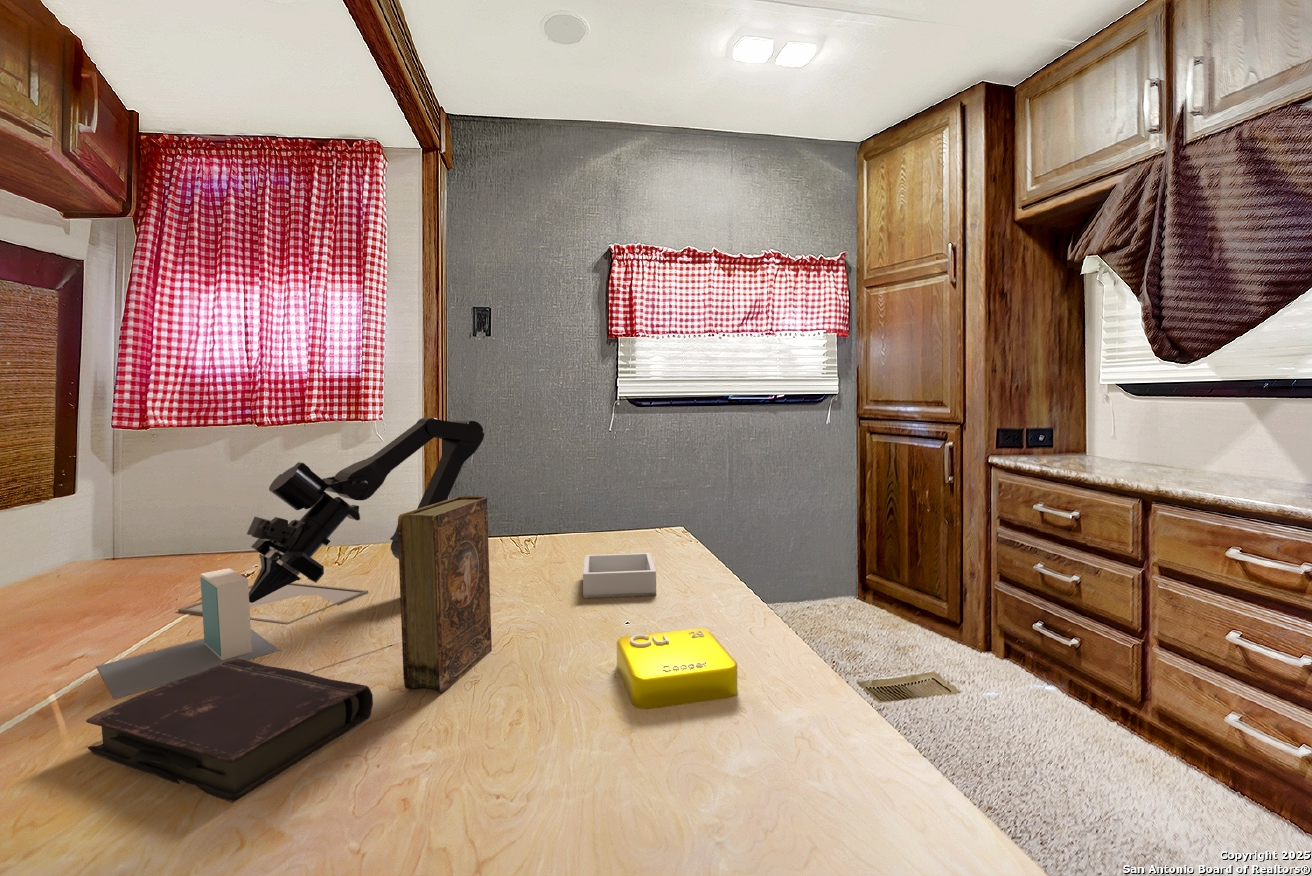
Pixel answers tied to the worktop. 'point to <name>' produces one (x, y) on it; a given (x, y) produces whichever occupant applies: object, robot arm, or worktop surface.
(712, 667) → the element tile
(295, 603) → the worktop surface
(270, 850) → the worktop surface
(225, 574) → the white rectangular block
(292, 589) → the picture frame
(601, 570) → the dish
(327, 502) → the robot arm
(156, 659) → the mat
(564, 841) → the worktop surface
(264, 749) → the diary
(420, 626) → the book
